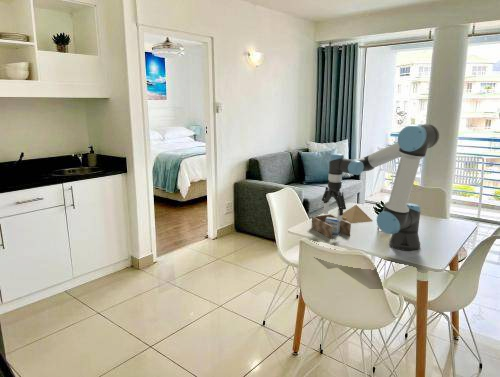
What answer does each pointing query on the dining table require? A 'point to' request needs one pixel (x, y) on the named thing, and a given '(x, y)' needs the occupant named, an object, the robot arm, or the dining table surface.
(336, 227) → the medicine box
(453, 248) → the dining table surface
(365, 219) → the model pyramid
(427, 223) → the dining table surface
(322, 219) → the open wooden shelf
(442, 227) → the dining table surface
